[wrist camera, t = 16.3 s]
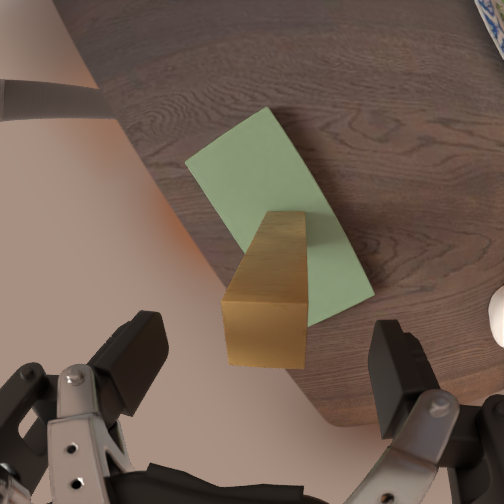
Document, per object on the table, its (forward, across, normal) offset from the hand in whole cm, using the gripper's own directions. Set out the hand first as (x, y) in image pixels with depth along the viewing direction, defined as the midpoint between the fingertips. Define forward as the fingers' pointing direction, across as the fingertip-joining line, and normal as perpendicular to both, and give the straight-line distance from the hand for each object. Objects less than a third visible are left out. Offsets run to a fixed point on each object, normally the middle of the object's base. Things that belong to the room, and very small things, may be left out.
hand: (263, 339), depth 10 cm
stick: (+14, 0, 0) cm, 14 cm away
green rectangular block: (+15, 0, 0) cm, 16 cm away
